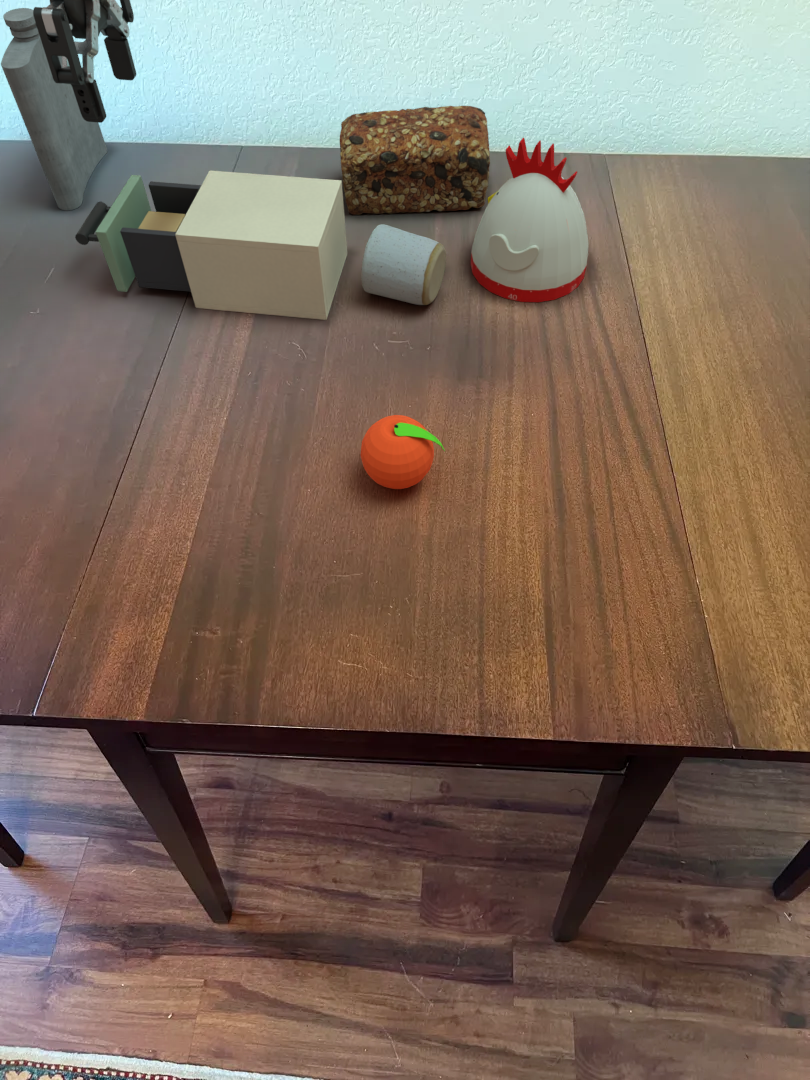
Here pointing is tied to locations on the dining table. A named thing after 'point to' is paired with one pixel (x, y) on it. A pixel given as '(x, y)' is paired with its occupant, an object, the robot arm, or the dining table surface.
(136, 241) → the drawer
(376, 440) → the clementine
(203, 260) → the drawer cabinet
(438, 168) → the bread
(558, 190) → the kitchen timer
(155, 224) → the block
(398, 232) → the ceramic mug
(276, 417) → the dining table surface
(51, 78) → the hip flask
